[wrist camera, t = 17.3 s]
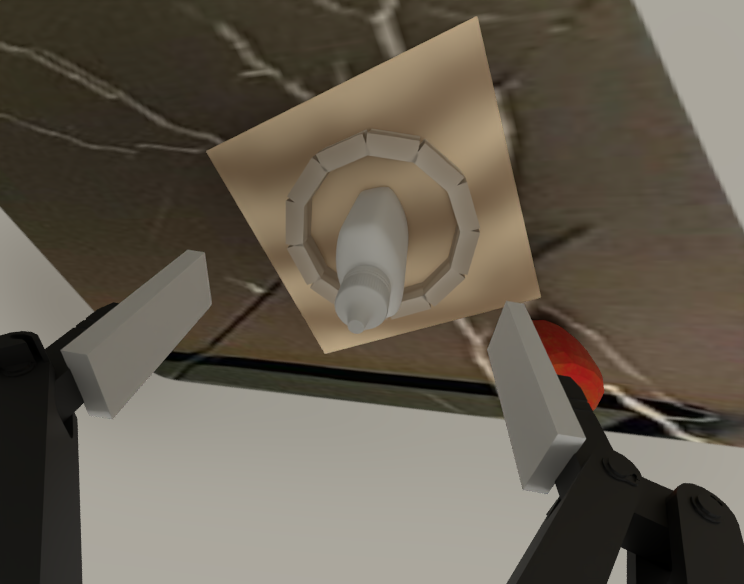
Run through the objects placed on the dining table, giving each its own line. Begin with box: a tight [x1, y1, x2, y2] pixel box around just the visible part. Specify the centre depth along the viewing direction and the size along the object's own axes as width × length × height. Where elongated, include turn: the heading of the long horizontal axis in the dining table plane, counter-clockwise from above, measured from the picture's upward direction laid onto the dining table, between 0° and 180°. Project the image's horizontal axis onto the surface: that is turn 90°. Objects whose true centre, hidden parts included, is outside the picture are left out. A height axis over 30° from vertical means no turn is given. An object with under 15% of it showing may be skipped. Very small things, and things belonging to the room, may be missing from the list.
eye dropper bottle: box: [334, 187, 408, 334], centre depth 20 cm, size 4×6×12 cm
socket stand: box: [206, 16, 541, 354], centre depth 25 cm, size 18×18×4 cm
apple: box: [532, 320, 604, 410], centre depth 27 cm, size 6×6×8 cm
